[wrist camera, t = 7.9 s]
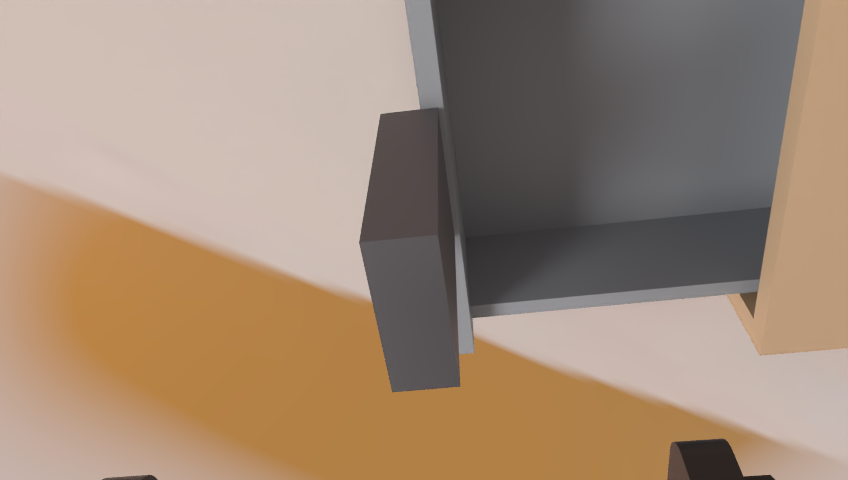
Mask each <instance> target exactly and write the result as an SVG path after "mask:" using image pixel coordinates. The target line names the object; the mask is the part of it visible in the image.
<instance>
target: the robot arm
mask: <svg viewBox="0 0 848 480" xmlns="http://www.w3.org/2000/svg"><path fill="white" fill-rule="evenodd" d="M669 457H670V458H669V468H668V480H775V479H774V478H773V477H772V476H771V475H762V476H746V477H743V475H742V472H741V470H740V467H739V465H738V463H737V460H736V458H735V455H734V453H733V451H732V449H731V447H730V445H729V443H728V442H727V441H726V440H725V439H711V440H696V441H683V442H682V441H681V442H672V444H671V447H670V456H669ZM103 480H157V479H156V478H155V477H154V476H152V475H145V476H144V475H143V476H129V477H113V478H105V479H103Z"/></svg>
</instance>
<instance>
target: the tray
mask: <svg viewBox="0 0 848 480" xmlns="http://www.w3.org/2000/svg"><path fill="white" fill-rule="evenodd" d="M804 3H805V0H405V6H406V13H407V20H408V27H409V33H410V40H411V47H412V54H413V61H414V68H415V75H416V82H417V88H418V95H419V102H420V110H411V111H403V112H395V113H386V114H381V115H380V121H379V127H378V133H377V139H376V145H375V151H374V157H373V163H372V169H371V175H370V181H369V187H368V193H367V199H366V205H365V211H364V217H363V223H362V229H361V235H360V241H359V244H360V248H361V253H362V257H363V262H364V266H365V271H366V275H367V280H368V284H369V289H370V293H371V298H372V303H373V307H374V312H375V316H376V320H377V325H378V329H379V334H380V338H381V343H382V348H383V352H384V356H385V361H386V366H387V370H388V375H389V379H390V384H391V388H392V392H401V391H413V390H425V389H437V388H448V387H460V372H459V371H460V370H459V354H467V353H474V336H473V321H472V318H477V317H488V316H499V315H510V314H521V313H532V312H543V311H553V310H564V309H575V308H586V307H597V306H608V305H619V304H630V303H640V302H651V301H662V300H673V299H684V298H695V297H706V296H717V295H727V294H738V293H749V292H758V288H759V282H760V276H761V269H762V263H763V257H764V251H765V245H766V238H767V232H768V226H769V220H770V214H771V207H772V201H773V195H774V189H775V183H776V176H777V170H778V164H779V158H780V152H781V145H782V139H783V133H784V127H785V121H786V114H787V108H788V102H789V96H790V90H791V83H792V77H793V71H794V65H795V59H796V53H797V46H798V40H799V34H800V28H801V22H802V15H803V9H804Z"/></svg>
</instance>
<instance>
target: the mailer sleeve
mask: <svg viewBox="0 0 848 480" xmlns="http://www.w3.org/2000/svg"><path fill="white" fill-rule="evenodd" d="M727 296H728V298H729V300H730V302H731V304H732V306H733V307H734V309H735V311H736V313H737V315H738V316H739V318H740V320H741V322H742V324H743V326H744V327H745V329H746V331H747V333H748V335H749V336H750V338H751V340H752V342H753V344H754V345H755V347H756V349H757V351H758V353H759V355H772V354H783V353H795V352H807V351H819V350H831V349H843V348H848V0H805V3H804V9H803V15H802V22H801V28H800V34H799V40H798V46H797V53H796V59H795V65H794V71H793V77H792V83H791V90H790V96H789V102H788V108H787V114H786V121H785V127H784V133H783V139H782V145H781V152H780V158H779V164H778V170H777V176H776V183H775V189H774V195H773V201H772V207H771V214H770V220H769V226H768V232H767V238H766V245H765V251H764V257H763V263H762V269H761V276H760V282H759V288H758V292H749V293H738V294H727Z"/></svg>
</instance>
